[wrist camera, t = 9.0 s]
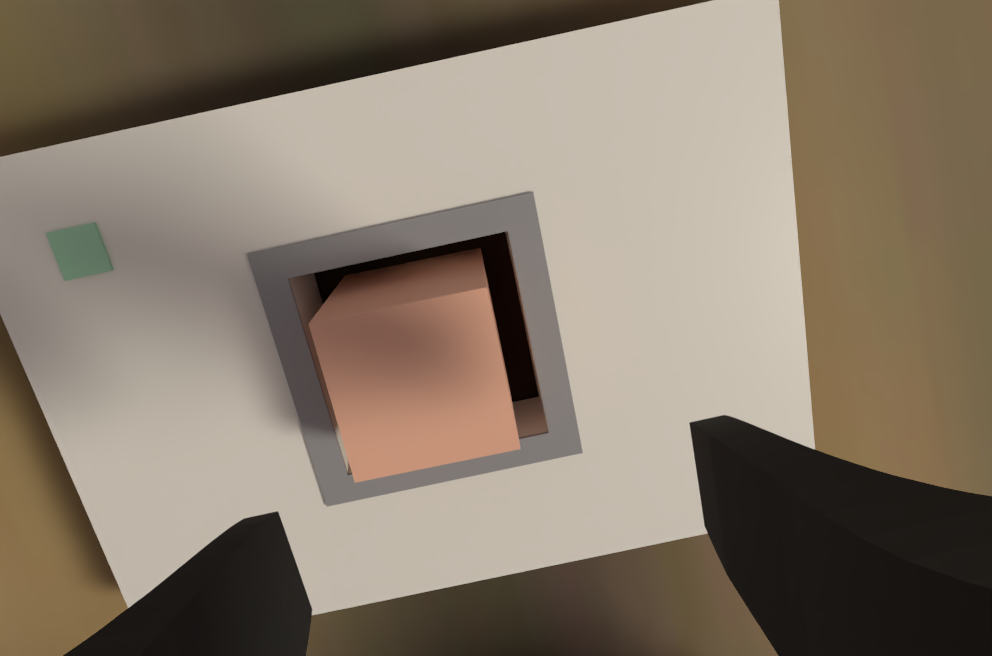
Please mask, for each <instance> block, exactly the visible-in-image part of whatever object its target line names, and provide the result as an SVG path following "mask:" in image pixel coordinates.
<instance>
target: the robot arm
mask: <svg viewBox="0 0 992 656" xmlns="http://www.w3.org/2000/svg"><path fill="white" fill-rule="evenodd" d="M689 424H690V430H691V437H692V444H693V451H694V458H695V464H696V471H697V478H698V485H699V492H700V498H701V505H702V512H703V519H704V525H705V528H706V530H707V532H708V535H709V537H710V539H711V541H712V544H713V546H714V548H715V550H716V552H717V554H718V557H719V559H720V561H721V563H722V565H723V567H724V569H725V571H726V573H727V575H728V577H729V579H730V580H731V582H732V583H733V585H734V587H735V588H736V590H737V591H738V593H739V594H740V596H741V598H742V599H743V601H744V602H745V604H746V606H747V607H748V609H749V610H750V612H751V613H752V615H753V617H754V618H755V620H756V621H757V623H758V624H759V626H760V627H761V629H762V630H763V632H764V634H765V635H766V637H767V638H768V640H769V641H770V643H771V644H772V646H773V648H774V649H775V651H776V652H777V654H778V655H779V656H992V496H986V495H980V494H974V493H968V492H963V491H958V490H953V489H948V488H943V487H938V486H934V485H930V484H926V483H922V482H918V481H914V480H910V479H906V478H902V477H898V476H894V475H890V474H887V473H883V472H880V471H876V470H873V469H870V468H867V467H864V466H861V465H858V464H855V463H852V462H848V461H845V460H842V459H839V458H836V457H834V456H831V455H828V454H825V453H823V452H820V451H817V450H814V449H812V448H809V447H807V446H804V445H801V444H799V443H796V442H794V441H791V440H789V439H786V438H784V437H781V436H779V435H776V434H774V433H772V432H769V431H767V430H764V429H762V428H759V427H757V426H755V425H752V424H750V423H747V422H745V421H742V420H739V419H737V418H734V417H731V416H727V415H722V416H717V417H713V418H708V419H703V420H699V421H694V422H689ZM311 615H312V607H311V604H310V601H309V598H308V596H307V593H306V590H305V587H304V584H303V581H302V578H301V575H300V573H299V570H298V567H297V564H296V561H295V558H294V555H293V553H292V550H291V547H290V544H289V541H288V538H287V535H286V532H285V530H284V527H283V524H282V521H281V518H280V515H279V512H278V511H276V512H272V513H267V514H263V515H258V516H253V517H249V518H244V519H242V520H241V521H239V522H237V523H236V524H234V525H233V526H231V527H230V528H229V529H227V530H226V531H224V532H223V533H222V534H221V535H219V536H218V537H217V538H215V539H214V540H213V541H212V542H210V543H209V544H208V545H207V546H205V547H204V548H203V549H202V550H200V551H199V552H198V553H197V554H196V555H194V556H193V557H192V558H191V559H189V560H188V561H187V562H186V563H184V564H183V565H182V566H181V567H180V568H178V569H177V570H176V571H175V572H173V573H172V574H171V575H170V576H169V577H167V578H166V579H165V580H164V581H162V582H161V583H160V584H159V585H158V586H156V587H155V588H154V589H153V590H151V591H150V592H149V593H147V594H146V595H145V596H144V597H142V598H141V599H140V600H138V601H137V602H136V603H134V604H133V605H132V606H130V607H129V608H128V609H127V610H125V611H124V612H123V613H121V614H120V615H119V616H117V617H116V618H115V619H114V620H112V621H111V622H110V623H108V624H107V625H106V626H104V627H103V628H102V629H100V630H99V631H98V632H96V633H95V634H94V635H92V636H91V637H89V638H88V639H87V640H85V641H84V642H82V643H81V644H79V645H78V646H77V647H75V648H74V649H72V650H71V651H69V652H68V653H66V654H65V655H63V656H306V650H307V644H308V638H309V630H310V623H311Z"/></svg>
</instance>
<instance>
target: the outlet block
mask: <svg viewBox="0 0 992 656" xmlns="http://www.w3.org/2000/svg"><path fill="white" fill-rule="evenodd" d="M501 232H505V234H506V238H507V243H508V248H509V253H510V258H511V263H512V268H513V273H514V277H515V282H516V287H517V292H518V297H519V302H520V307H521V312H522V316H523V321H524V326H525V331H526V336H527V341H528V346H529V351H530V355H531V360H532V365H533V370H534V375H535V380H536V385H537V390H538V394H539V397H534V398H530V399H525V400H520V401H515V402H512V403H513V409H514V414H515V420H516V426H517V431H518V437H519V442H520V448H521V449H519V450H514V451H509V452H504V453H499V454H494V455H489V456H484V457H479V458H474V459H469V460H465V461H460V462H455V463H450V464H445V465H440V466H435V467H430V468H425V469H420V470H415V471H411V472H406V473H401V474H396V475H391V476H386V477H381V478H376V479H371V480H366V481H361V482H356V483H355V482H354V478H353V475H352V471H351V468H350V464H349V461H348V458H347V454H346V451H345V447H344V444H343V441H342V437H341V434H340V430H339V427H338V423H337V420H336V417H335V413H334V410H333V406H332V403H331V399H330V396H329V393H328V389H327V386H326V382H325V379H324V376H323V372H322V369H321V365H320V362H319V358H318V355H317V352H316V348H315V345H314V341H313V338H312V334H311V331H310V328H309V322H310V321H311V320H312V318H313V317H314V316H315V314H316V313H317V312H318V311H319V309H320V308H321V307H322V305H323V302H322V299H321V295H320V292H319V288H318V285H317V282H316V278H315V275H314V273H316V272H320V271H325V270H330V269H334V268H339V267H344V266H348V265H353V264H358V263H362V262H367V261H371V260H376V259H381V258H385V257H390V256H395V255H399V254H404V253H409V252H413V251H418V250H423V249H427V248H432V247H436V246H441V245H446V244H450V243H455V242H460V241H464V240H469V239H474V238H478V237H483V236H488V235H492V234H497V233H501ZM0 315H1V317H2V319H3V322H4V324H5V326H6V328H7V331H8V333H9V335H10V338H11V340H12V342H13V345H14V347H15V349H16V351H17V354H18V356H19V358H20V361H21V363H22V365H23V368H24V370H25V372H26V374H27V377H28V379H29V381H30V384H31V386H32V388H33V391H34V393H35V395H36V397H37V400H38V402H39V404H40V407H41V409H42V411H43V413H44V416H45V418H46V420H47V423H48V425H49V427H50V430H51V432H52V434H53V436H54V439H55V441H56V443H57V446H58V448H59V450H60V453H61V455H62V457H63V459H64V462H65V464H66V466H67V469H68V471H69V473H70V476H71V478H72V480H73V482H74V485H75V487H76V489H77V492H78V494H79V496H80V498H81V501H82V503H83V505H84V508H85V510H86V512H87V515H88V517H89V519H90V521H91V524H92V526H93V528H94V531H95V533H96V535H97V538H98V540H99V542H100V544H101V547H102V549H103V551H104V554H105V556H106V558H107V561H108V563H109V565H110V567H111V570H112V572H113V574H114V577H115V579H116V581H117V583H118V586H119V588H120V590H121V593H122V595H123V597H124V600H125V602H126V604H127V606H128V608H129V607H130V606H132V605H133V604H134V603H136V602H137V601H138V600H140V599H141V598H142V597H144V596H145V595H146V594H147V593H149V592H150V591H151V590H153V589H154V588H155V587H156V586H158V585H159V584H160V583H161V582H162V581H164V580H165V579H166V578H167V577H169V576H170V575H171V574H172V573H173V572H175V571H176V570H177V569H178V568H180V567H181V566H182V565H183V564H184V563H186V562H187V561H188V560H189V559H191V558H192V557H193V556H194V555H196V554H197V553H198V552H199V551H200V550H202V549H203V548H204V547H205V546H207V545H208V544H209V543H210V542H212V541H213V540H214V539H215V538H217V537H218V536H219V535H221V534H222V533H223V532H224V531H226V530H227V529H229V528H230V527H231V526H233V525H234V524H236V523H237V522H239V521H241V520H242V519H244V518H249V517H253V516H258V515H263V514H267V513H272V512H276V511H278V512H279V515H280V518H281V521H282V524H283V527H284V530H285V532H286V535H287V538H288V541H289V544H290V547H291V550H292V553H293V555H294V558H295V561H296V564H297V567H298V570H299V573H300V575H301V578H302V581H303V584H304V587H305V590H306V593H307V596H308V598H309V601H310V604H311V607H312V615H316V614H321V613H326V612H331V611H335V610H340V609H345V608H350V607H355V606H360V605H364V604H369V603H374V602H379V601H384V600H388V599H393V598H398V597H403V596H408V595H413V594H417V593H422V592H427V591H432V590H437V589H441V588H446V587H451V586H456V585H461V584H466V583H470V582H475V581H480V580H485V579H490V578H495V577H499V576H504V575H509V574H514V573H519V572H523V571H528V570H533V569H538V568H543V567H548V566H552V565H557V564H562V563H567V562H572V561H576V560H581V559H586V558H591V557H596V556H601V555H605V554H610V553H615V552H620V551H625V550H629V549H634V548H639V547H644V546H649V545H654V544H658V543H663V542H668V541H673V540H678V539H683V538H687V537H692V536H697V535H702V534H707V533H708V532H707V530H706V528H705V525H704V519H703V512H702V505H701V498H700V492H699V485H698V478H697V471H696V464H695V458H694V451H693V444H692V437H691V430H690V424H689V422H694V421H699V420H703V419H708V418H713V417H717V416H722V415H727V416H731V417H734V418H737V419H739V420H742V421H745V422H747V423H750V424H752V425H755V426H757V427H759V428H762V429H764V430H767V431H769V432H772V433H774V434H776V435H779V436H781V437H784V438H786V439H789V440H791V441H794V442H796V443H799V444H801V445H804V446H807V447H809V448H812V449H814V450H815V444H814V431H813V419H812V407H811V394H810V382H809V370H808V357H807V345H806V333H805V320H804V308H803V296H802V283H801V271H800V258H799V246H798V234H797V221H796V209H795V197H794V184H793V172H792V160H791V147H790V135H789V123H788V110H787V98H786V86H785V73H784V61H783V49H782V36H781V24H780V11H779V0H713V1H708V2H703V3H699V4H694V5H690V6H685V7H681V8H676V9H672V10H667V11H662V12H658V13H653V14H649V15H644V16H640V17H635V18H631V19H626V20H622V21H617V22H612V23H608V24H603V25H599V26H594V27H590V28H585V29H581V30H576V31H571V32H567V33H562V34H558V35H553V36H549V37H544V38H540V39H535V40H530V41H526V42H521V43H517V44H512V45H508V46H503V47H499V48H494V49H489V50H485V51H480V52H476V53H471V54H467V55H462V56H458V57H453V58H448V59H444V60H439V61H435V62H430V63H426V64H421V65H417V66H412V67H407V68H403V69H398V70H394V71H389V72H385V73H380V74H376V75H371V76H367V77H362V78H357V79H353V80H348V81H344V82H339V83H335V84H330V85H326V86H321V87H316V88H312V89H307V90H303V91H298V92H294V93H289V94H285V95H280V96H275V97H271V98H266V99H262V100H257V101H253V102H248V103H244V104H239V105H234V106H230V107H225V108H221V109H216V110H212V111H207V112H203V113H198V114H193V115H189V116H184V117H180V118H175V119H171V120H166V121H162V122H157V123H153V124H148V125H143V126H139V127H134V128H130V129H125V130H121V131H116V132H112V133H107V134H102V135H98V136H93V137H89V138H84V139H80V140H75V141H71V142H66V143H61V144H57V145H52V146H48V147H43V148H39V149H34V150H30V151H25V152H20V153H16V154H11V155H7V156H2V157H0Z"/></svg>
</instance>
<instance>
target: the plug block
mask: <svg viewBox="0 0 992 656" xmlns="http://www.w3.org/2000/svg"><path fill="white" fill-rule="evenodd" d="M309 328H310V331H311V334H312V338H313V341H314V345H315V348H316V352H317V355H318V358H319V362H320V365H321V369H322V372H323V376H324V379H325V382H326V386H327V389H328V393H329V396H330V399H331V403H332V406H333V410H334V413H335V417H336V420H337V423H338V427H339V430H340V434H341V437H342V441H343V444H344V447H345V451H346V454H347V458H348V461H349V464H350V468H351V471H352V475H353V478H354V482H355V483H356V482H361V481H366V480H371V479H376V478H381V477H386V476H391V475H396V474H401V473H406V472H411V471H415V470H420V469H425V468H430V467H435V466H440V465H445V464H450V463H455V462H460V461H465V460H469V459H474V458H479V457H484V456H489V455H494V454H499V453H504V452H509V451H514V450H519V449H521V448H520V442H519V437H518V431H517V426H516V420H515V414H514V409H513V403H512V398H511V392H510V387H509V381H508V376H507V371H506V366H505V361H504V357H503V352H502V347H501V342H500V337H499V333H498V328H497V323H496V318H495V313H494V309H493V304H492V299H491V294H490V289H489V285H488V280H487V275H486V270H485V265H484V261H483V256H482V251H481V248H476V249H471V250H466V251H461V252H456V253H452V254H447V255H442V256H437V257H432V258H427V259H422V260H418V261H413V262H408V263H403V264H398V265H393V266H389V267H384V268H379V269H374V270H369V271H364V272H360V273H355V274H350V275H345V276H344V277H343V279H342V280H341V281H340V283H339V284H338V285H337V287H336V288H335V289H334V291H333V292H332V293H331V295H330V296H329V297H328V299H327V300H326V301H325V303H324V304H323V305H322V307H321V308H320V309H319V311H318V312H317V313H316V314H315V316H314V317H313V318H312V320H311V321H310V322H309Z"/></svg>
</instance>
